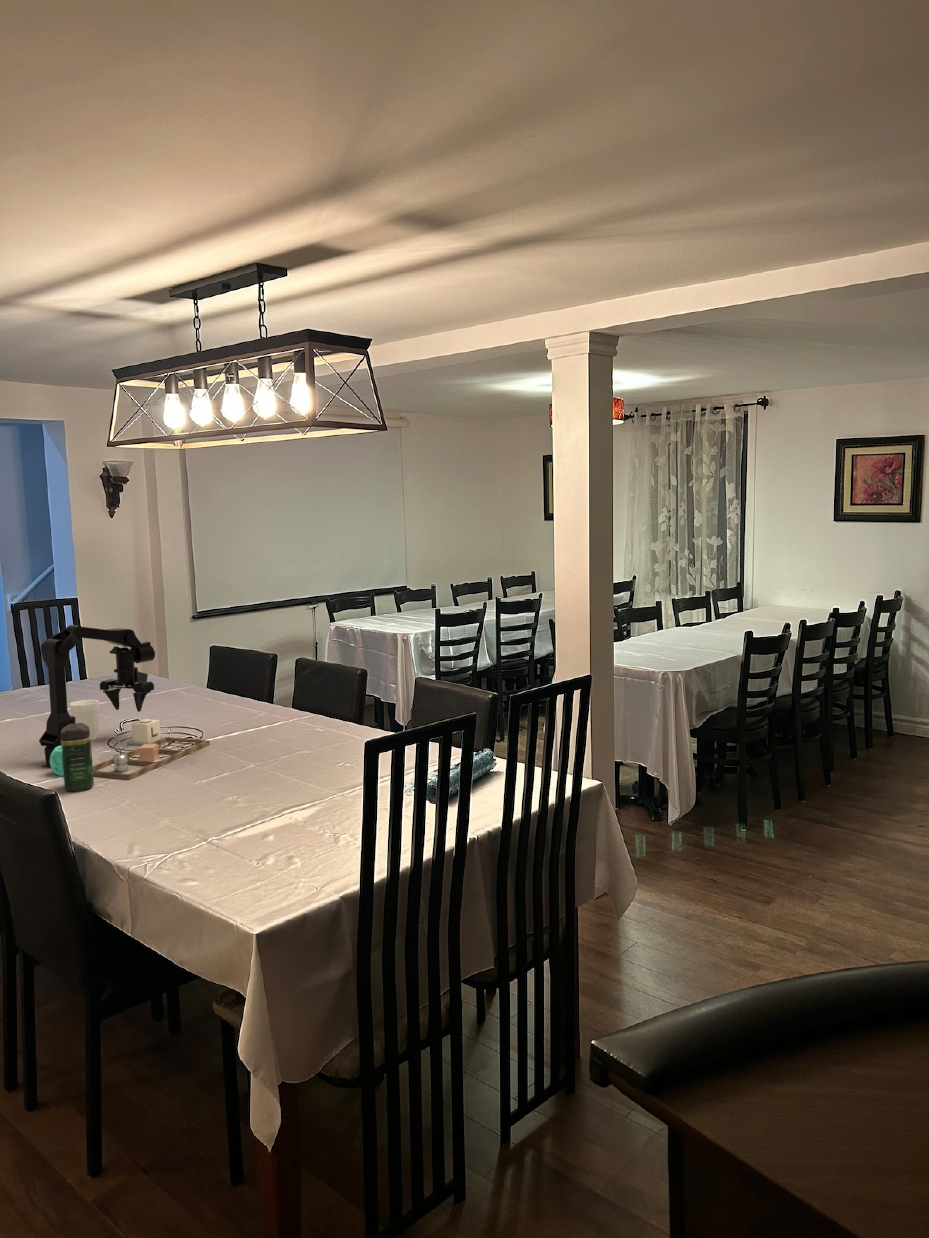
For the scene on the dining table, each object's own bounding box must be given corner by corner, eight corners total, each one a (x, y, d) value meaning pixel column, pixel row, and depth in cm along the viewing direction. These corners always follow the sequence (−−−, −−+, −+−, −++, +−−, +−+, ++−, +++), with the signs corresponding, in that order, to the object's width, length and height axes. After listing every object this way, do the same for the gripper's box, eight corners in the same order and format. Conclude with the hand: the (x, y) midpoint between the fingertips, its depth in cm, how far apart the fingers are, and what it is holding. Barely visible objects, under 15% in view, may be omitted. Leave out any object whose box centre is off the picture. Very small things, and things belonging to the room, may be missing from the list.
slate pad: (148, 746, 304) (148, 744, 304) (127, 744, 307) (127, 742, 307) (166, 739, 313) (166, 737, 312) (145, 737, 316) (145, 736, 316)
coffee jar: (94, 790, 259) (88, 727, 257) (64, 793, 257) (58, 730, 254) (95, 780, 268) (89, 719, 266) (66, 784, 266) (60, 722, 263)
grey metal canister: (122, 773, 275) (121, 757, 274) (111, 772, 276) (110, 756, 275) (131, 769, 278) (130, 753, 278) (120, 768, 280) (119, 752, 279)
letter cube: (148, 743, 306) (147, 724, 305) (132, 742, 308) (131, 723, 307) (161, 738, 312) (159, 719, 311) (145, 737, 314) (144, 718, 313)
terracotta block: (154, 761, 287) (153, 747, 286) (140, 761, 287) (138, 748, 286) (158, 757, 291) (157, 743, 291) (145, 757, 291) (144, 744, 291)
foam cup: (77, 744, 310) (74, 707, 308) (69, 738, 317) (66, 702, 315) (105, 738, 316) (102, 702, 314) (97, 733, 323) (94, 698, 321)
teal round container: (90, 769, 280) (88, 744, 279) (72, 776, 273) (70, 751, 271) (68, 767, 282) (66, 742, 281) (50, 775, 275) (48, 749, 274)
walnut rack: (129, 779, 268) (129, 775, 268) (82, 775, 274) (82, 770, 274) (209, 744, 304) (209, 740, 304) (166, 741, 310) (166, 736, 310)
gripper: (163, 662, 309) (166, 707, 311) (120, 660, 316) (123, 704, 318) (141, 668, 299) (144, 714, 301) (97, 665, 306) (100, 710, 308)
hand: (128, 710), depth 307 cm, fingers open, 9 cm apart
